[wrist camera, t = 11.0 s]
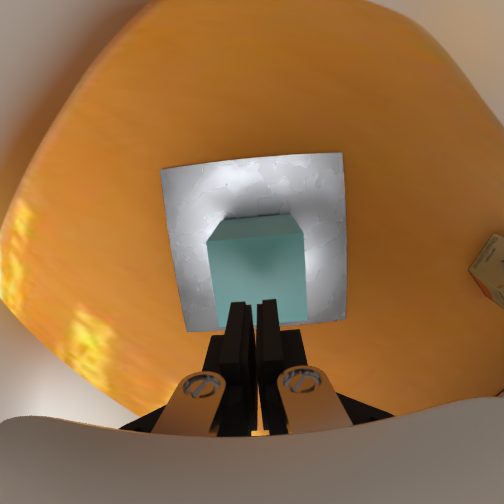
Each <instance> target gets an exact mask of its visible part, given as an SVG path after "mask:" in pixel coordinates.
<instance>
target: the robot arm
mask: <svg viewBox="0 0 504 504" xmlns="http://www.w3.org/2000/svg"><path fill="white" fill-rule="evenodd" d="M258 386H259V395H260V403H261V411H262V420H263V428H264V430H269V433H270V435H267V436H251V431H257V409H258ZM0 504H504V391H503V392H502V393H500V394H499V395H498V396H497V397H475V398H469V399H462V400H457V401H453V402H449V403H444V404H441V405H437V406H434V407H430V408H427V409H423V410H419V411H415V412H411V413H407V414H403V415H399V416H394V415H392V414H390V413H388V412H385V411H382V410H380V409H377V408H374V407H372V406H369V405H366V404H364V403H361V402H359V401H356V400H354V399H351V398H349V397H346V396H344V395H342V394H339V393H337V392H335V390H334V389H333V387H332V385H331V383H330V381H329V379H328V377H327V376H326V374H325V373H324V372H323V371H322V370H320V369H318V368H316V367H313V366H308V364H307V359H306V355H305V350H304V346H303V342H302V337H301V333H300V329H296V330H285V331H280V326H279V317H278V309H277V301H276V299H267V300H262V304H257V326H256V343H255V334H254V325H253V316H252V307H251V305H246V302H245V301H242V302H231V305H230V310H229V315H228V319H227V324H226V329H225V334H224V335H213V336H212V337H211V339H210V343H209V347H208V351H207V354H206V358H205V362H204V365H203V369H202V372H197V373H193V374H190V375H188V376H186V377H185V378H184V379H182V380H181V382H180V383H179V384H178V386H177V388H176V389H175V391H174V393H173V395H172V396H171V398H170V400H169V402H168V403H167V405H165V406H163V407H161V408H159V409H157V410H155V411H153V412H151V413H149V414H147V415H145V416H143V417H141V418H139V419H137V420H135V421H133V422H130V423H128V424H126V425H124V426H122V427H121V428H119V429H114V428H108V427H101V426H96V425H91V424H86V423H80V422H74V421H69V420H64V419H59V418H52V417H46V416H20V417H14V418H10V419H7V420H4V421H3V422H1V423H0Z"/></svg>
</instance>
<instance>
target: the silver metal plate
mask: <svg viewBox="0 0 504 504" xmlns="http://www.w3.org/2000/svg"><path fill="white" fill-rule="evenodd" d="M160 174H161V182H162V190H163V198H164V206H165V213H166V220H167V227H168V233H169V240H170V246H171V252H172V258H173V264H174V269H175V275H176V280H177V286H178V291H179V296H180V301H181V306H182V311H183V316H184V321H185V325H186V330H187V332H202V331H223V330H225V329H226V327H219V323H218V317H217V311H216V305H215V299H214V292H213V286H212V279H211V273H210V266H209V259H208V252H207V245H206V241H207V240H208V238H209V237H210V235H211V234H212V233H213V231H214V230H215V228H216V227H217V226H218V224H219V223H220V221H221V220H231V219H241V218H252V217H263V216H274V215H286V214H291V215H292V216H293V218H294V219H295V221H296V222H297V224H298V225H299V227H300V228H301V230H302V231H303V233H304V247H305V267H306V291H307V320H303V321H293V322H283V323H279V326H291V325H302V324H311V323H320V322H329V321H337V320H345V319H346V297H347V232H346V203H345V185H344V170H343V157H342V152H341V153H314V154H296V155H281V156H268V157H257V158H246V159H237V160H228V161H219V162H211V163H203V164H196V165H189V166H182V167H175V168H169V169H163V170H160ZM256 326H257V325H254V329H255V328H256Z"/></svg>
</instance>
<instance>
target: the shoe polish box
mask: <svg viewBox="0 0 504 504" xmlns="http://www.w3.org/2000/svg"><path fill="white" fill-rule="evenodd" d="M468 271H469V272H470V274H471V275H472V277H473V278H474V279H475V281H476V282H477V284H478V285H479V287H480V288H481V290H482V291H483V293H484V294H485V296H486V297H488V298H489V299H490V300H492V301H493V302H495V303H496V304H498V305H499V306H500V307H502V308H503V309H504V237H503V236H500V235H497V234H495V233H493V235H492V236H491V238H490V239H489V241H488V242H487V244H486V245H485V247H484V248H483V250H482V251H481V253H480V254H479V255H478V257H477V258H476V260H475V261H474V262H473V264H472V265H471V267H470V268H469V269H468Z"/></svg>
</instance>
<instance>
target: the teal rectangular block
mask: <svg viewBox="0 0 504 504" xmlns="http://www.w3.org/2000/svg"><path fill="white" fill-rule="evenodd" d="M206 245H207V252H208V259H209V266H210V273H211V279H212V286H213V292H214V299H215V305H216V311H217V317H218V323H219V327H226V324H227V319H228V315H229V310H230V305H231V302H242V301H245V302H246V305H251V307H252V316H253V325H257V304H262V300H267V299H276V301H277V309H278V317H279V323H283V322H293V321H303V320H307V291H306V267H305V247H304V233H303V231H302V230H301V228H300V227H299V225H298V224H297V222H296V221H295V219H294V218H293V216H292V215H291V214H286V215H274V216H263V217H252V218H241V219H231V220H221V221H220V223H219V224H218V226H217V227H216V228H215V230H214V231H213V233H212V234H211V235H210V237H209V238H208V240H207V241H206Z"/></svg>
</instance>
